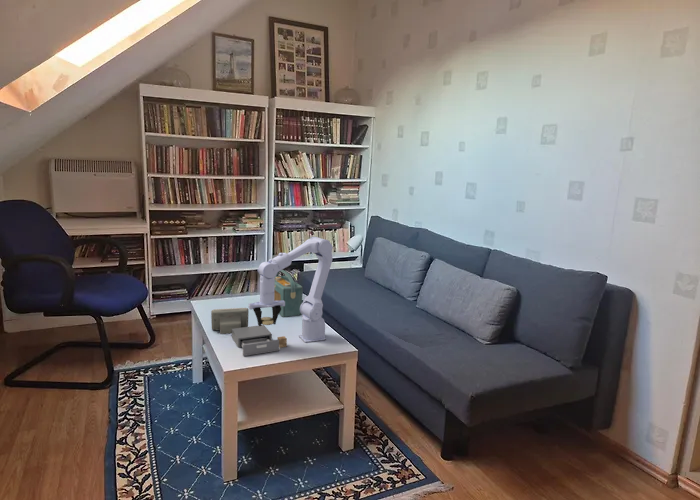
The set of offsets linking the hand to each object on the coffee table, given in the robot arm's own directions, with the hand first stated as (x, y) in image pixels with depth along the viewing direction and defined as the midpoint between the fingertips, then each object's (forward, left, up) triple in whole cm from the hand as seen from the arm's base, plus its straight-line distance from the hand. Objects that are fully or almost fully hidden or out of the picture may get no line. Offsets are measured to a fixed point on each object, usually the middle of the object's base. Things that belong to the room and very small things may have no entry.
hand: (266, 324), depth 190 cm
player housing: (+4, -10, -10) cm, 15 cm away
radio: (-23, -46, -10) cm, 52 cm away
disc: (0, 0, +1) cm, 1 cm away
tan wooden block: (-6, +1, -10) cm, 12 cm away
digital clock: (+9, -25, -10) cm, 29 cm away
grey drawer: (+4, -1, -10) cm, 10 cm away
